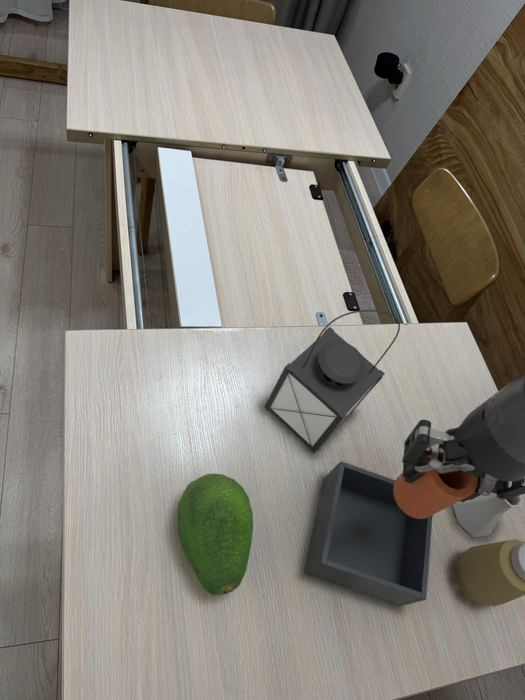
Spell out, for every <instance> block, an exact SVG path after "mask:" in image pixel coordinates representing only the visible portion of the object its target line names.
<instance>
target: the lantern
mask: <svg viewBox="0 0 525 700" xmlns="http://www.w3.org/2000/svg"><path fill="white" fill-rule="evenodd" d="M363 312H371V313H373V312H375V313H381V314H386V315H389V316H391V317H392V318H394V320H396V323H397V324H398V325H397V331H396V334H395V335H394V338H393V339H392V341H391V343H389V345H388V347H387V348H386V350H385V351H384V352H383V354H382V355H381V356H380V358H379V359H378V360H377V362H375V364H373V363H372V362H371V361H369V360H368V359H367V358H366V357H365V356H364V355H362V353H361V352H360V351H359V350H358V348H356V347H355V346H353V345H351V344H350V343H349V342H347V341H346V340H345V339H344V338H342V336H340V335H339V334H338V333H337V332H336V331H335V330H334V329H333V328H332V327H331V326H330V325H332V324H333V323H334V322H335V321H337V320H339V319H341V318H343V317H345V316H348V315H352V314H355V313H363ZM400 331H401V323H400V320H399V318H398V317H396V315H394V314H392V313H390V312H388V311H384V310H379V309H378V310H377V309H360V310H354V311H350V312H347V313H344V314H342V315H339V316H337V317H336V318H334V319H332V320H331V321H330V322H328V324H326V326H325V327H324V328H323V329H322V330H321V332H320V333H319V334H318V336H317V338H316V340H314V341H313V343H311V344H310V345H309V346H308V347H307V348H305V350H303V352H301V353H299V355H298V356H297V357H296V358H295V359H294V360H292V361H291V362H289V363H287V364H286V365H285V366H284V368H283V369H282V371H281V374H280V376H279V377H278V379H277V381H276V383H275V385H274V387H273V389H272V391H271V393H270V395H269V397H268V399H267V401H266V403H265V405H264V408H265V409H266V410H267V411H269V412H270V413H271V414H273V415H274V416H275V417H276V418H277V419H278V420H279V421H280V422H282V424H283V425H284V426H285V427H287V429H289V430H290V431H291V432H292V433H293V434H294V435H295V436H296V437H297V438H298V439H299V440H300V441H302V443H304V444H305V445H306V446H307V447H308V448H309V450H310V451H311V452H312V453H313V454H315V453H316V452H317V451H319V450H320V448H322V446H323V445H324V444H326V442H327V441H328V439H329V438H331V436H332V435H333V434H334V433H335V432H336V431H337V429H338V428H339V427H340V426H341V425H342V424H343V422H345V420H346V419H348V417H349V416H351V414H353V413H354V411H355V409H356V408H357V407H358V406H359V405H360V404H361V403H362V401H363V400H364V399H365V398H366V397H367V396H368V395H369V393H370V392H371V391H372V390H373V389H374V388H375V387H376V386H377V384H378V383H379V382H380V381H381V380H382V379H383V377H384V376H385V375H386V373H385V372H384V371H383V370H382V369H379V368H378V367H377V366H378V364H379V363H380V362H381V360H382V359H383V358H384V356H385V355H387V354H386V353H387V352H388V351H389V350H390V348H391V347H392V345H393V344H394V342H395V341H396V339H397V338H398V336H399V333H400Z"/></svg>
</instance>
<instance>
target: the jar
mask: <svg viewBox="0 0 525 700" xmlns="http://www.w3.org/2000/svg"><path fill="white" fill-rule="evenodd" d="M431 460H432V455H430V456H428V462H429V461H431ZM445 462H447V461H446V457H445ZM402 475H403V472H402V473H400V475H399V476H397V478H396V479H395V483H394V487H393V493H394V498H395V500H396V503H397V504H398V506H399V507H400V509H401V510H402V511H403V512H404V513H406V514H407V515H409V516H410V517H413V518H416V519H425V518H427V517H430V516H432V515H433V516H434V515H435V514H438V513H440V512H441V511H443V510H445V509H447V508H449V507H451V506H453V504H455V503H457V502H459V501H461V500H462V499H464V498H466V497H468V496H470V495H471V494H473V493H474V491H475V489H476V487H477V486H478V478H477V477H474V476H471V475H470V474H468V473H466V472H462V471H454V472H448V473H442V474H440V473H438V472H437V471H436V470H435V471H430V472H425V474H424V475H423V476H421V477H420V478H418V479H417V480H415V481H414V482H412V483H408V482H405V481H404V477H403V476H402ZM433 516H432V517H433Z"/></svg>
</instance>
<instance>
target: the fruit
mask: <svg viewBox="0 0 525 700" xmlns="http://www.w3.org/2000/svg"><path fill="white" fill-rule="evenodd" d="M176 530H177V535H178V538H179V542H180V545H181V549H182V551H183V553H184V554H185V555H184V556H185V557H186V559H187V561H188V563H189V565H190V567H191V569H192V572H193V573H194V575H195V577H196V579H197V581H198V583H199V585H200V587H202V588H203V590H204V591H205V592H206V593H208V594H210V595H212V596H222V595H227V594H229V593H232V592H234V591H235V590H237V589H238V588H239V587H240V585H241V583H242V581H243V579H244V577H245V575H246V573H247V568H248V563H249V557H250V554H251V553H250V552H251V547H252V540H253V531H254V516H253V509H252V507H251V501H250V498H249V496H248V494H247V492H246V491H245V489H244V487H243V486H242V485H241V484H240V483H239V482H238V481H236V479H234V478H231V477H229V476H227V475H225V474H223V473H206V474H204V475H202V476H200V477H198V478H196V479H194V480H192V481H190V483H188V484H187V486H186V487H185V489H184V491H183V493H182V495H181V498H180V499H179V502H178V505H177V511H176Z"/></svg>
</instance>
